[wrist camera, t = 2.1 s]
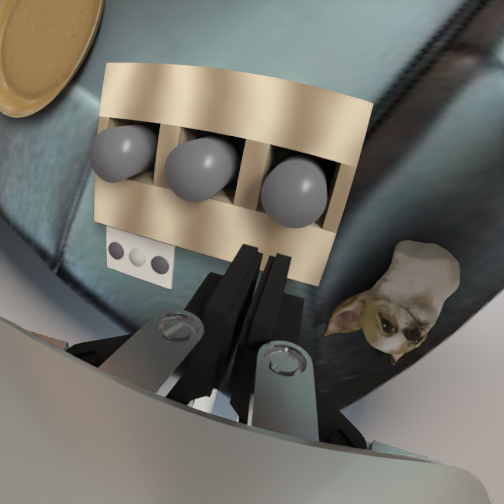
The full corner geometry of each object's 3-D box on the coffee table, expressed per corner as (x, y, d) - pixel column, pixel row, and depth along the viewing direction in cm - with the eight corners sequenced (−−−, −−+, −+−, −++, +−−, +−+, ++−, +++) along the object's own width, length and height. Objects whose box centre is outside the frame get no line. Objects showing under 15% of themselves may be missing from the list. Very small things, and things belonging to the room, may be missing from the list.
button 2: (332, 163, 25) (334, 174, 21) (318, 215, 27) (317, 235, 23) (278, 149, 25) (268, 157, 21) (266, 200, 27) (255, 218, 23)
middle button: (244, 141, 26) (227, 147, 21) (234, 192, 28) (217, 208, 23) (193, 131, 26) (168, 136, 22) (186, 181, 28) (161, 194, 24)
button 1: (164, 126, 26) (136, 131, 22) (158, 174, 28) (130, 187, 24) (123, 121, 27) (92, 126, 23) (118, 166, 29) (88, 177, 25)
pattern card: (175, 244, 34) (173, 247, 33) (172, 287, 36) (169, 290, 36) (108, 224, 35) (105, 226, 34) (108, 265, 37) (106, 267, 37)
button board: (366, 104, 24) (373, 103, 20) (319, 265, 31) (318, 286, 28) (129, 65, 26) (106, 62, 23) (115, 209, 34) (94, 221, 30)
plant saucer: (129, 75, 27) (111, 74, 24) (5, 137, 33) (-11, 141, 30) (117, -81, 18) (102, -90, 15) (-1, 4, 24) (-16, 3, 21)
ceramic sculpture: (504, 299, 19) (401, 405, 27) (472, 250, 27) (395, 348, 34) (409, 241, 20) (311, 374, 27) (391, 201, 27) (319, 316, 35)
